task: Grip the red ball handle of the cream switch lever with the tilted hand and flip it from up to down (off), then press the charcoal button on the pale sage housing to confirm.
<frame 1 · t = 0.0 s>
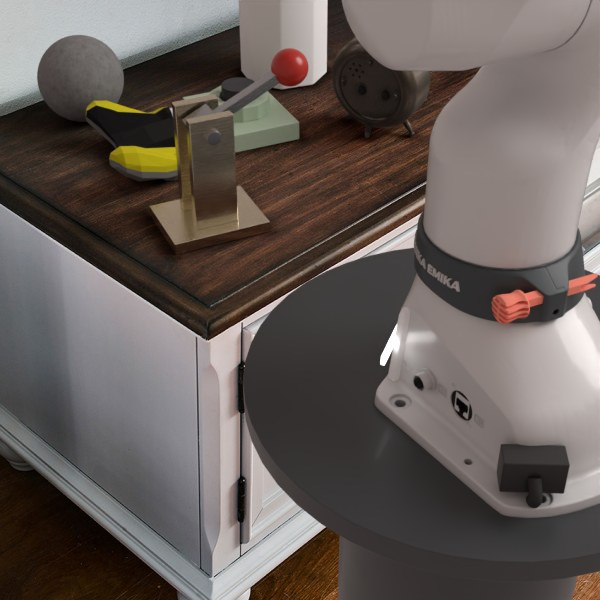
switch bracket: (209, 223, 105), on the table
confirm button: (238, 91, 120), point 4 cm above the table, slide at 0.1 cm
button box: (240, 126, 123), on the table
cup: (284, 73, 135), on the table
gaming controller: (145, 164, 115), on the table
switch lever: (248, 95, 99), point 13 cm above the table, hinge at 25.0°
alarm clock: (376, 133, 122), on the table
decorative ball: (86, 118, 125), on the table
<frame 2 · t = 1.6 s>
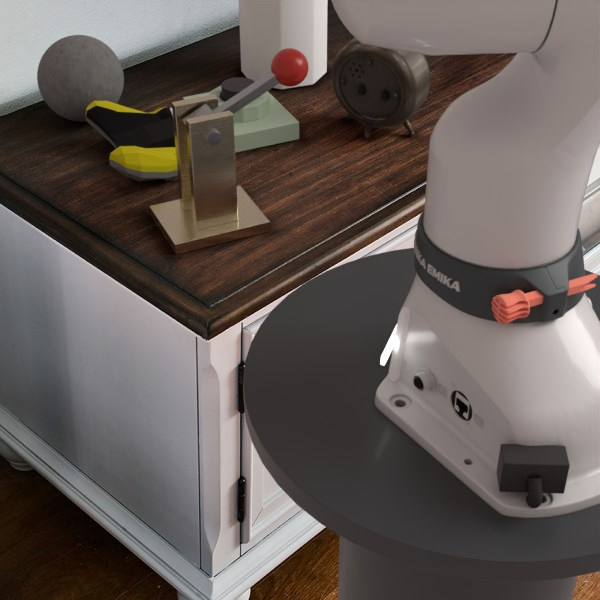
nothing on the table moved.
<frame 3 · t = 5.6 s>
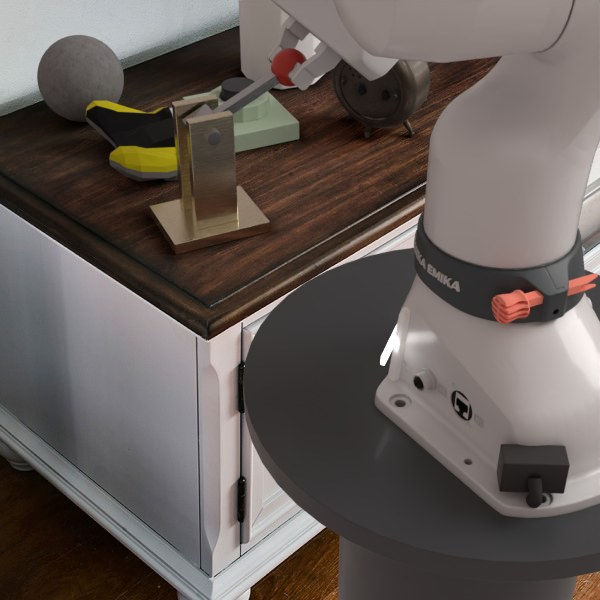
hand: (284, 74, 99), 15 cm above the table, tool tilted 45°, fingers closed on switch lever, 3 cm apart
switch lever: (248, 95, 99), point 13 cm above the table, hinge at 25.0°, touching gripper
everything else where it was.
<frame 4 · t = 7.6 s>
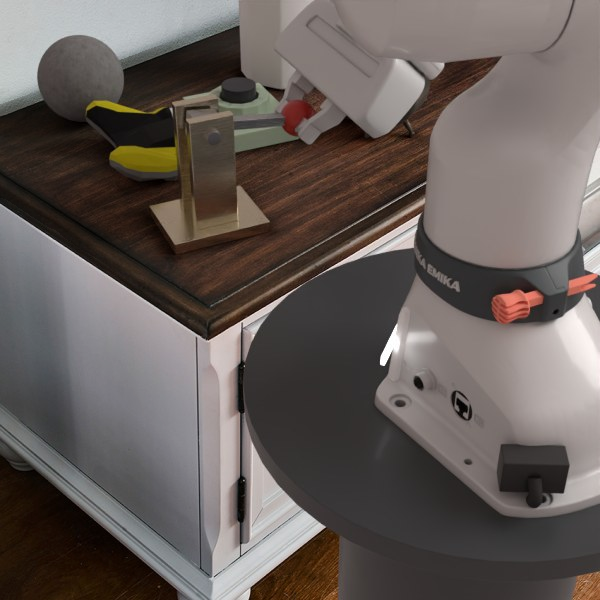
hand: (290, 128, 103), 9 cm above the table, tool tilted 45°, fingers closed on switch lever, 3 cm apart
switch lever: (253, 121, 101), point 10 cm above the table, hinge at -7.4°, touching gripper
everything else where it was.
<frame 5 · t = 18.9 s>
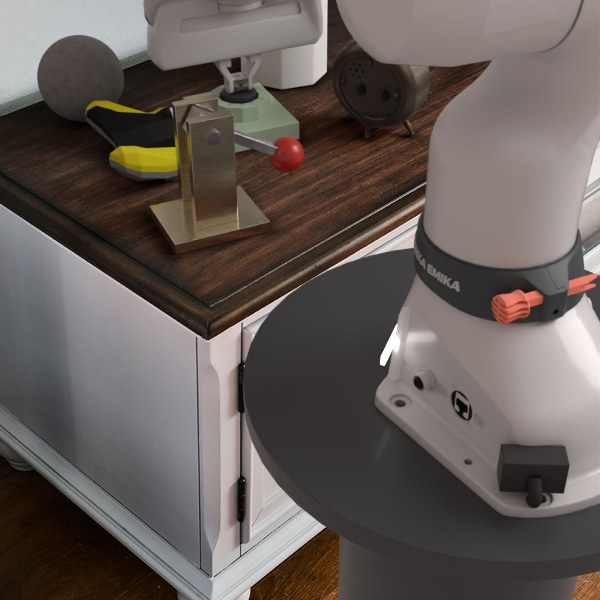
hand: (238, 90, 120), 5 cm above the table, tool pointing down, fingers closed, pressing on confirm button
confirm button: (239, 97, 120), point 4 cm above the table, slide at -0.7 cm, touching gripper
switch lever: (247, 141, 102), point 8 cm above the table, hinge at -30.4°
everything else where it was.
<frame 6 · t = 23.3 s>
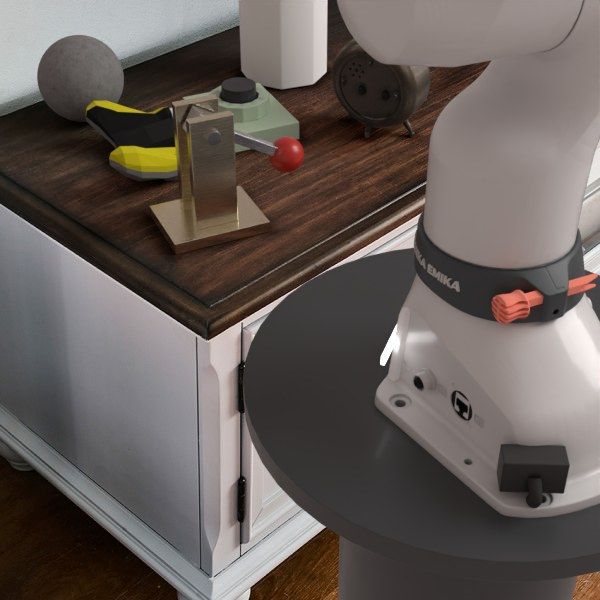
confirm button: (238, 91, 120), point 4 cm above the table, slide at 0.1 cm
everything else where it was.
at the end: switch lever at -30° (first picture: +25°); confirm button pushed in 1.0 cm at the most during the clip, back to where it started at the end; confirm button slide at 0.1 cm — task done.
